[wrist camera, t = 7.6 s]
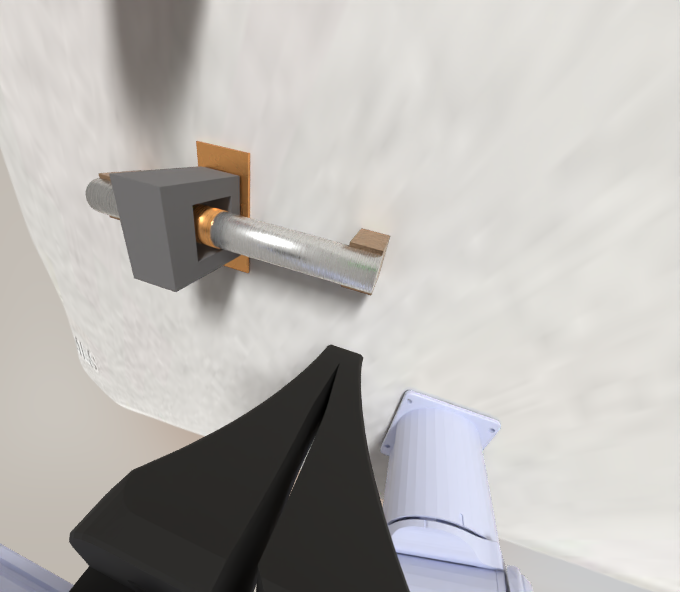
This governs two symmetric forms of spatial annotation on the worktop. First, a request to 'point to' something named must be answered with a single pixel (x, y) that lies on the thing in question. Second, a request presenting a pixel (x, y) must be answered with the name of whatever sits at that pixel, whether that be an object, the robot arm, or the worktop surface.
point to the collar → (172, 221)
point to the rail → (266, 231)
